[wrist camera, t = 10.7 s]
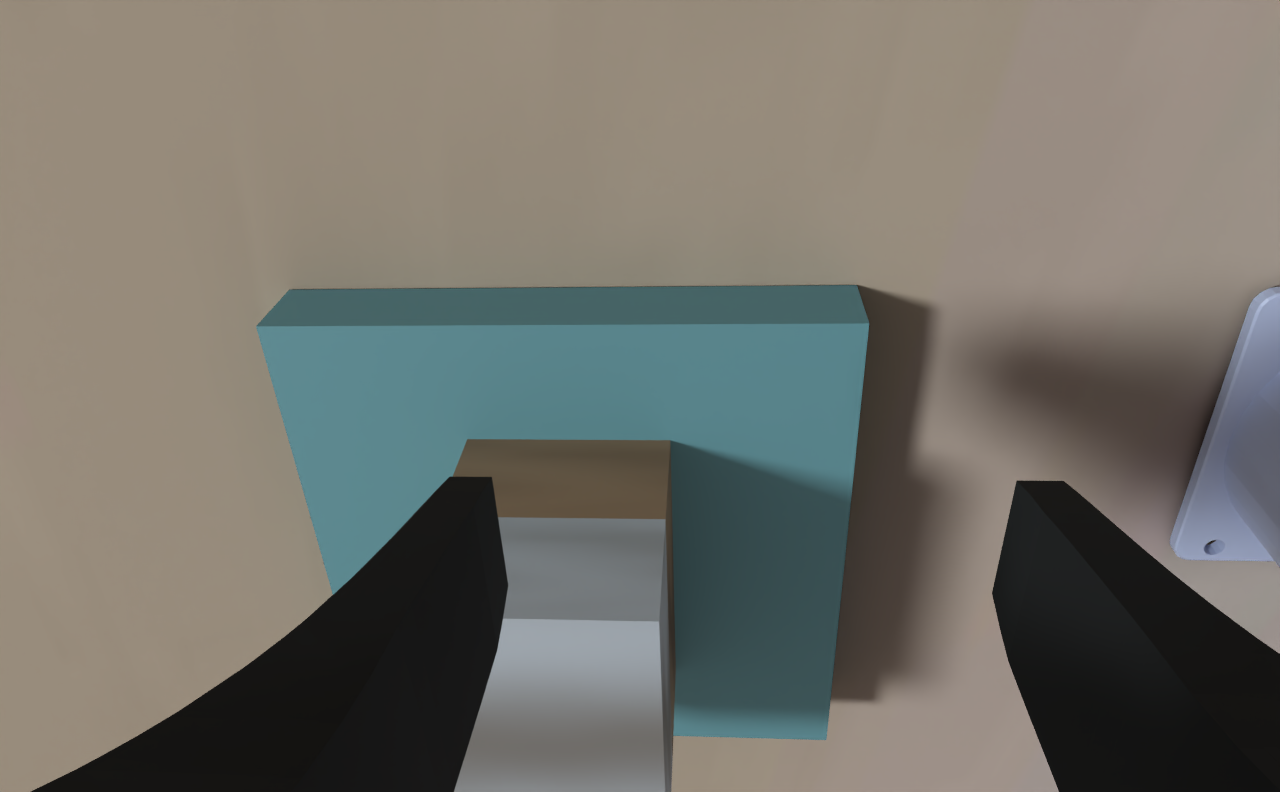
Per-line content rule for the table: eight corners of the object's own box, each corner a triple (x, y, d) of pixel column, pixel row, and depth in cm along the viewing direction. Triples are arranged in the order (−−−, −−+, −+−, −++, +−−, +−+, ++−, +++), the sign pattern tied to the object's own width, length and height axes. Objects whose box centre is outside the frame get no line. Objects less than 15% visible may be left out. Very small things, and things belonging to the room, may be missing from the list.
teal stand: (856, 285, 22) (869, 323, 20) (819, 686, 29) (826, 739, 28) (289, 289, 23) (256, 326, 21) (389, 676, 30) (371, 727, 29)
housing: (675, 670, 26) (667, 870, 21) (504, 666, 27) (456, 862, 22) (670, 440, 22) (658, 621, 17) (467, 439, 23) (397, 616, 18)
